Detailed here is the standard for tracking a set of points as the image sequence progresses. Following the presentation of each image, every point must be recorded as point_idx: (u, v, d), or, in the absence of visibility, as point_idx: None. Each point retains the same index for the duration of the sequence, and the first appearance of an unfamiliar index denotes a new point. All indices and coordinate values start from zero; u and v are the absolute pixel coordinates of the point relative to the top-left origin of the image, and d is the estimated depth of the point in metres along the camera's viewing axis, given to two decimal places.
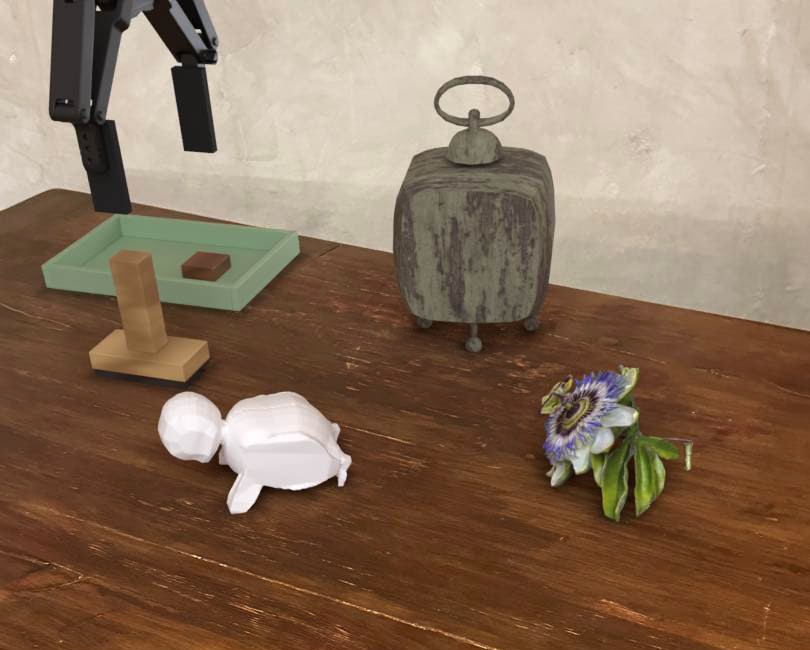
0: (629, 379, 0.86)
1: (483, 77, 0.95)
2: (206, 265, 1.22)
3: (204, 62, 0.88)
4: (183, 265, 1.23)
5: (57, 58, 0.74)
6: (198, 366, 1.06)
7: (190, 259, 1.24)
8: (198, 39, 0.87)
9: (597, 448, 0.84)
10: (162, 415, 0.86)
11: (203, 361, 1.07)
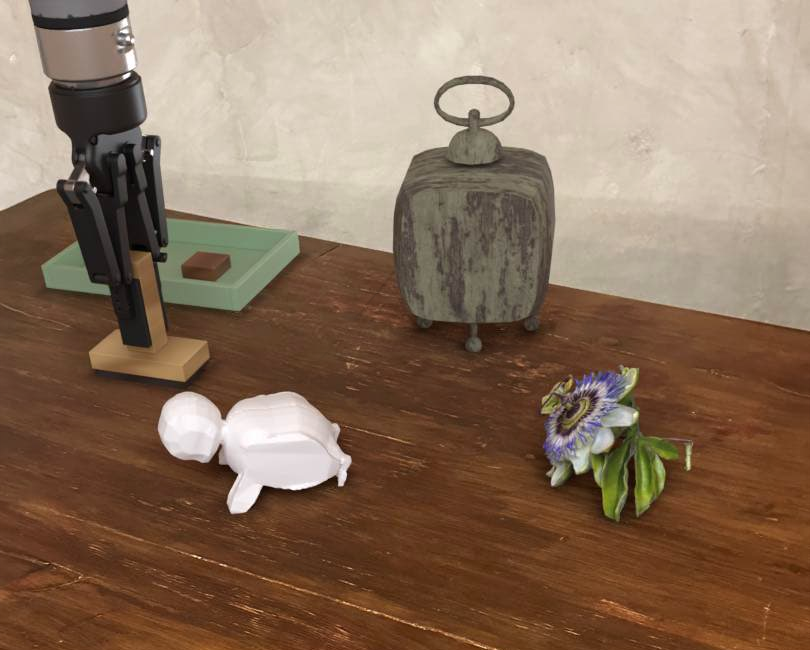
0: (629, 379, 0.86)
1: (483, 77, 0.95)
2: (206, 265, 1.22)
3: (154, 258, 1.02)
4: (183, 265, 1.23)
5: (84, 246, 0.95)
6: (198, 366, 1.06)
7: (190, 259, 1.24)
8: (154, 238, 1.02)
9: (597, 448, 0.84)
10: (162, 415, 0.86)
11: (203, 361, 1.07)
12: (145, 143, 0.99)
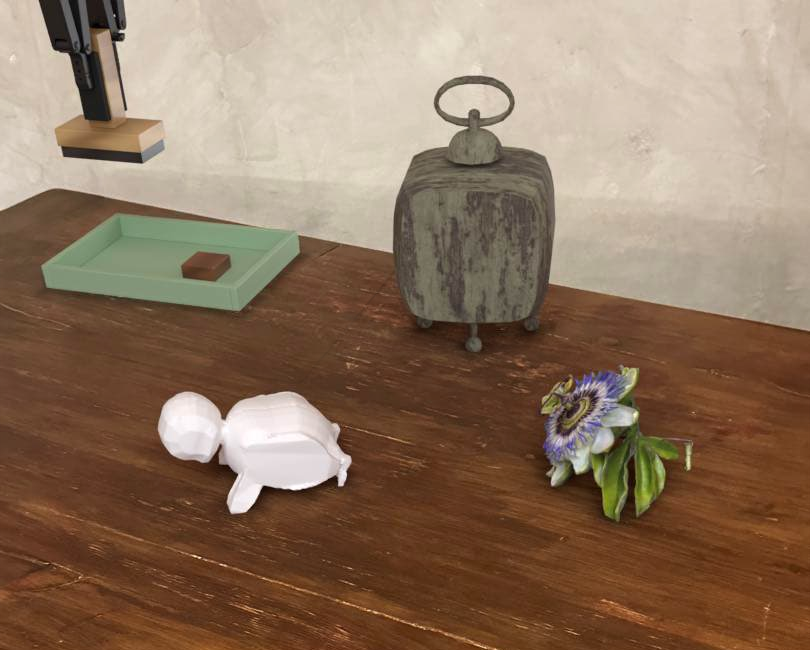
0: (629, 379, 0.86)
1: (483, 77, 0.95)
2: (206, 265, 1.22)
3: (112, 37, 1.12)
4: (183, 265, 1.23)
5: (46, 11, 1.05)
6: (154, 142, 1.16)
7: (190, 259, 1.24)
8: (112, 17, 1.12)
9: (597, 448, 0.84)
10: (162, 415, 0.86)
11: (159, 139, 1.17)
12: None
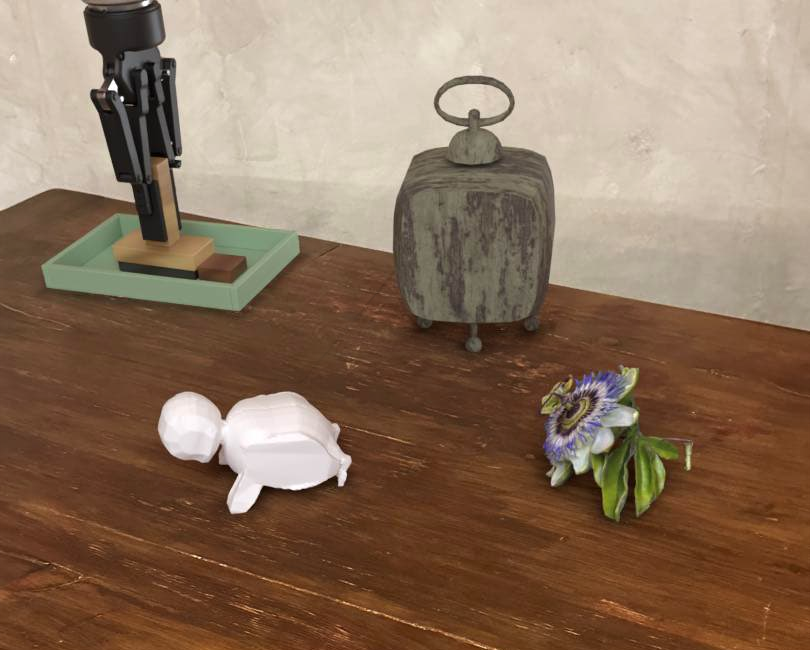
0: (629, 379, 0.86)
1: (483, 77, 0.95)
2: (223, 267, 1.22)
3: (170, 164, 1.20)
4: (199, 267, 1.22)
5: (112, 148, 1.13)
6: None
7: (206, 261, 1.23)
8: (170, 146, 1.20)
9: (597, 448, 0.84)
10: (162, 415, 0.86)
11: (210, 255, 1.25)
12: (163, 64, 1.17)
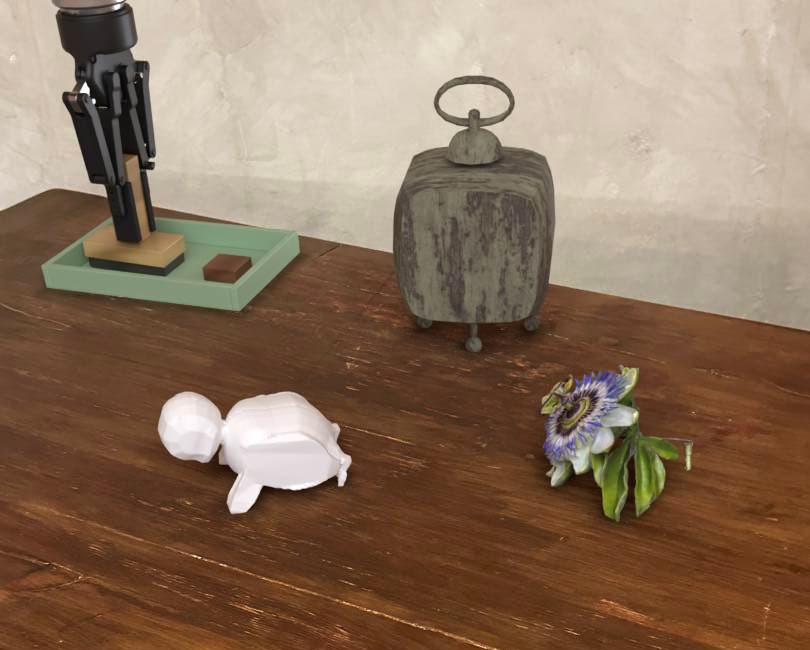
0: (629, 379, 0.86)
1: (483, 77, 0.95)
2: (228, 267, 1.22)
3: (144, 166, 1.22)
4: (205, 267, 1.22)
5: (85, 150, 1.14)
6: (175, 256, 1.25)
7: (211, 261, 1.23)
8: (144, 148, 1.21)
9: (597, 448, 0.84)
10: (162, 415, 0.86)
11: (180, 252, 1.26)
12: (136, 67, 1.18)
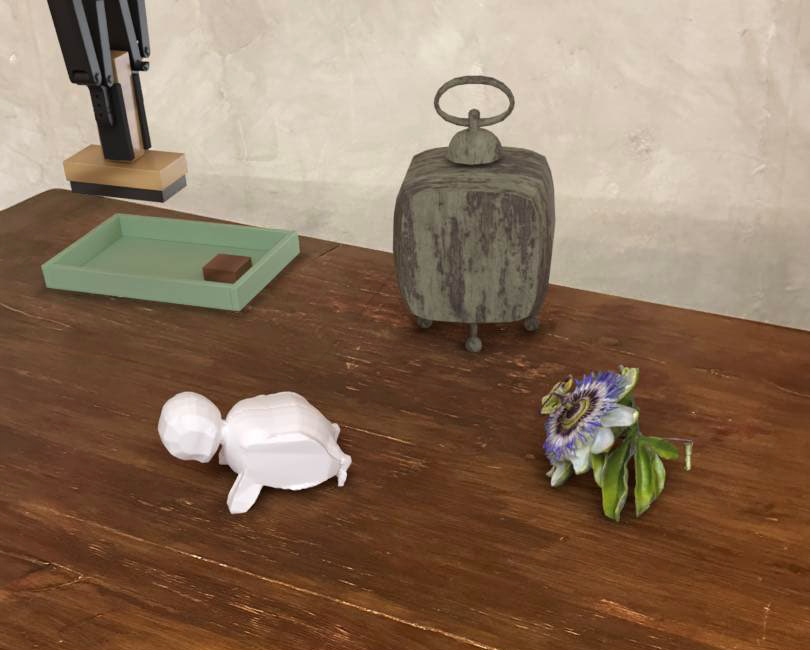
0: (629, 379, 0.86)
1: (483, 77, 0.95)
2: (228, 267, 1.22)
3: (136, 66, 1.00)
4: (205, 267, 1.22)
5: (63, 39, 0.92)
6: (176, 178, 1.03)
7: (211, 261, 1.23)
8: (135, 44, 0.99)
9: (597, 448, 0.84)
10: (162, 415, 0.86)
11: (181, 174, 1.04)
12: None
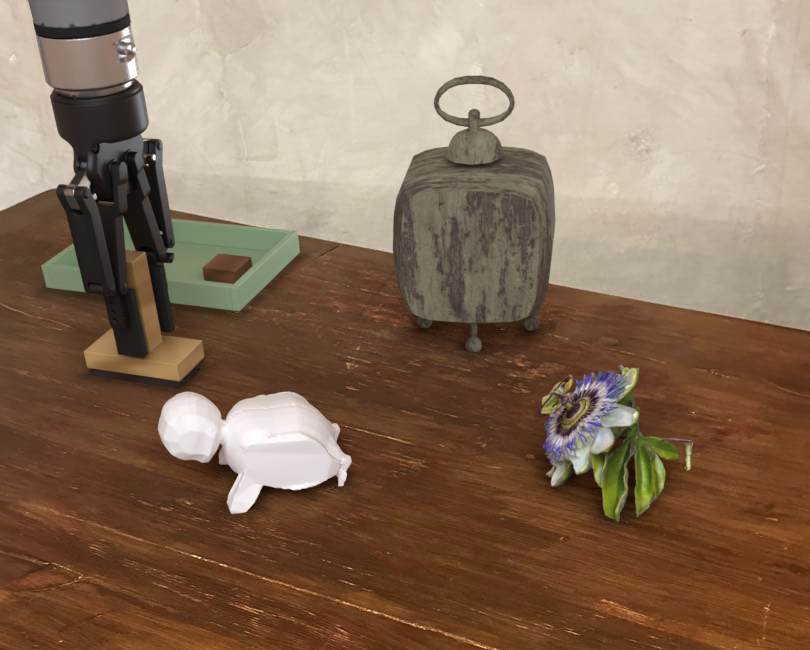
0: (629, 379, 0.86)
1: (483, 77, 0.95)
2: (228, 267, 1.22)
3: (161, 259, 1.04)
4: (205, 267, 1.22)
5: (80, 254, 0.95)
6: (193, 365, 1.06)
7: (211, 261, 1.23)
8: (160, 239, 1.03)
9: (597, 448, 0.84)
10: (162, 415, 0.86)
11: (198, 360, 1.07)
12: (147, 148, 1.00)
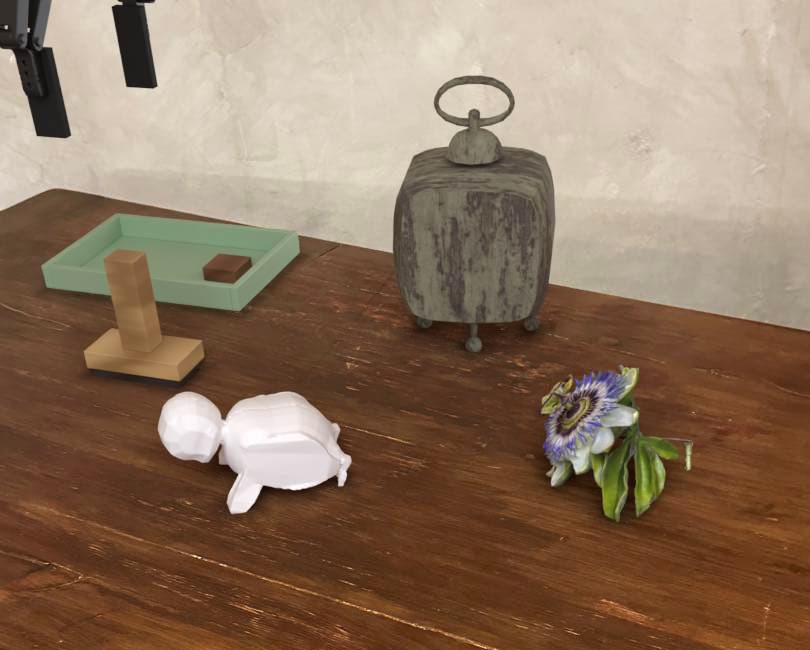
0: (629, 379, 0.86)
1: (483, 77, 0.95)
2: (228, 267, 1.22)
3: (143, 1, 0.94)
4: (205, 267, 1.22)
5: None
6: (193, 365, 1.06)
7: (211, 261, 1.23)
8: None
9: (597, 448, 0.84)
10: (162, 415, 0.86)
11: (198, 360, 1.07)
12: None
